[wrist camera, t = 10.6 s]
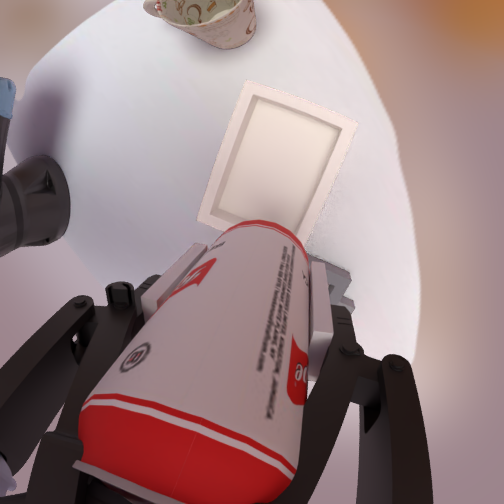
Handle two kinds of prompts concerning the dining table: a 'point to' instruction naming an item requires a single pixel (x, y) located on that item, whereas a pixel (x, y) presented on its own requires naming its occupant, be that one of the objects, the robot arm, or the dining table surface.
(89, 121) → the dining table surface
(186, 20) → the mug
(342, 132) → the cream rectangular tray
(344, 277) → the frame
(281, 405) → the beer can
